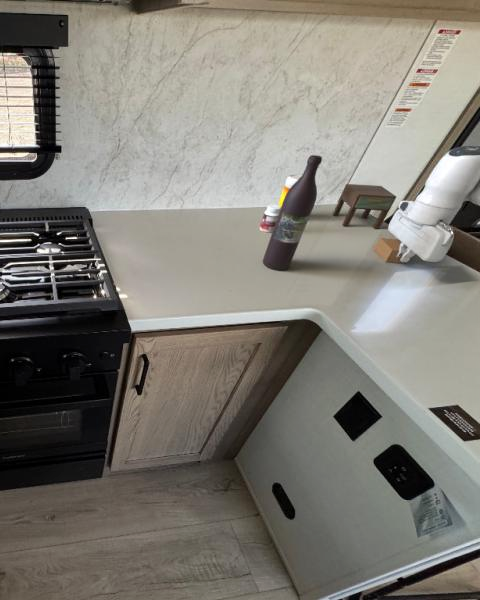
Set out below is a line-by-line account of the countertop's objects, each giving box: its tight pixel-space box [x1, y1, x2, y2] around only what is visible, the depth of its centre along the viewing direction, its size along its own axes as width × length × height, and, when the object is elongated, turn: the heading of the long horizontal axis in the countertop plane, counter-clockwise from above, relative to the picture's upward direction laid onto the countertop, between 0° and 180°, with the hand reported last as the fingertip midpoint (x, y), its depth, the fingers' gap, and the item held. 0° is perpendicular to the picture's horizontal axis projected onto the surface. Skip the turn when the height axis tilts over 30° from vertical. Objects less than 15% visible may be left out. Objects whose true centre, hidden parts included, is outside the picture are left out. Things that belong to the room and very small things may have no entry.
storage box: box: [373, 237, 407, 265], centre depth 102 cm, size 8×5×4 cm, turn 167°
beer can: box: [277, 174, 303, 207], centre depth 123 cm, size 6×6×15 cm
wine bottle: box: [262, 154, 323, 271], centre depth 91 cm, size 7×7×30 cm
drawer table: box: [332, 183, 397, 230], centre depth 121 cm, size 12×11×12 cm
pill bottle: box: [259, 203, 281, 233], centre depth 117 cm, size 5×5×8 cm
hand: (401, 259), depth 98 cm, fingers closed
